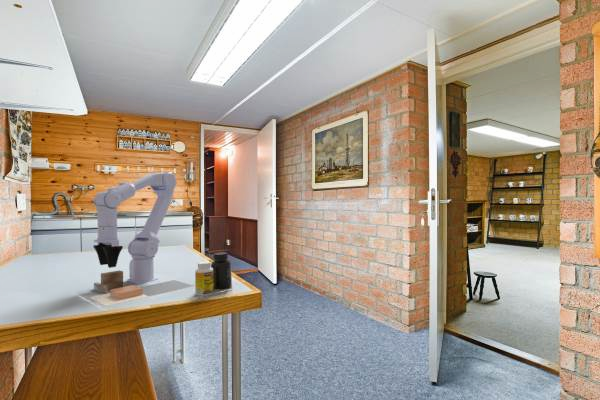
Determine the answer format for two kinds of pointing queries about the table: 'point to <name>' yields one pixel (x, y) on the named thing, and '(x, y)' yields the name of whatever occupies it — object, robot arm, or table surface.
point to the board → (147, 291)
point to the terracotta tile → (126, 292)
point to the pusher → (109, 281)
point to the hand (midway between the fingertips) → (108, 265)
